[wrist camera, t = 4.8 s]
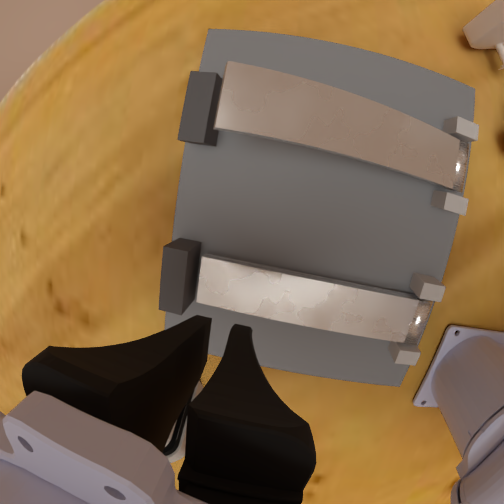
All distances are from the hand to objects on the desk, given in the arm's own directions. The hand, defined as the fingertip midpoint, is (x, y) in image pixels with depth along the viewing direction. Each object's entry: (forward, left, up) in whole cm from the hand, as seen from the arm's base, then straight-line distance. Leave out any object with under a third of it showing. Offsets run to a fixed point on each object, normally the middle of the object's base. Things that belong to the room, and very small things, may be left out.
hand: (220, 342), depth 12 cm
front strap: (-5, -10, -6) cm, 12 cm away
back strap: (-4, 0, -8) cm, 9 cm away
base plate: (-4, -5, -10) cm, 12 cm away
